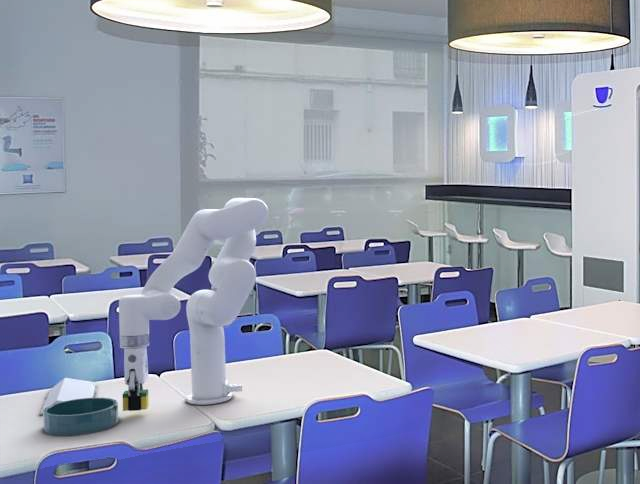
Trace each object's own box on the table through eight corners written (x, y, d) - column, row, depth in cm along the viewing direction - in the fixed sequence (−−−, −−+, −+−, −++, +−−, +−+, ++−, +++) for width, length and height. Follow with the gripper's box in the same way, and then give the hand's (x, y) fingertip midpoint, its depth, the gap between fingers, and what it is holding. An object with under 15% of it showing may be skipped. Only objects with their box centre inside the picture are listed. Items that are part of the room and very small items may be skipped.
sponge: (148, 405, 240) (148, 389, 240) (146, 409, 236) (146, 392, 236) (125, 407, 239) (124, 390, 239) (122, 410, 235) (122, 394, 235)
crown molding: (90, 409, 244) (89, 396, 244) (41, 415, 240) (40, 402, 239) (94, 386, 271) (93, 374, 271) (50, 390, 267) (49, 379, 266)
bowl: (122, 413, 239) (122, 395, 239) (111, 432, 222) (110, 412, 222) (53, 418, 236) (52, 400, 235) (36, 438, 218) (35, 418, 218)
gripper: (144, 345, 230) (146, 415, 230) (153, 334, 246) (154, 399, 246) (114, 347, 228) (116, 417, 228) (124, 336, 244) (126, 401, 245)
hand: (136, 407), depth 237 cm, fingers closed on sponge, 4 cm apart
